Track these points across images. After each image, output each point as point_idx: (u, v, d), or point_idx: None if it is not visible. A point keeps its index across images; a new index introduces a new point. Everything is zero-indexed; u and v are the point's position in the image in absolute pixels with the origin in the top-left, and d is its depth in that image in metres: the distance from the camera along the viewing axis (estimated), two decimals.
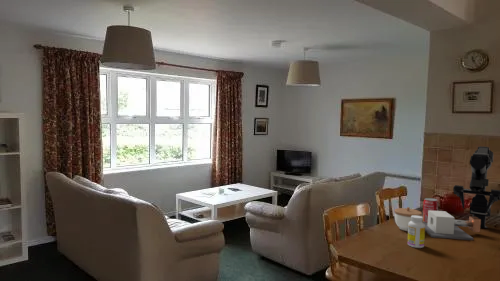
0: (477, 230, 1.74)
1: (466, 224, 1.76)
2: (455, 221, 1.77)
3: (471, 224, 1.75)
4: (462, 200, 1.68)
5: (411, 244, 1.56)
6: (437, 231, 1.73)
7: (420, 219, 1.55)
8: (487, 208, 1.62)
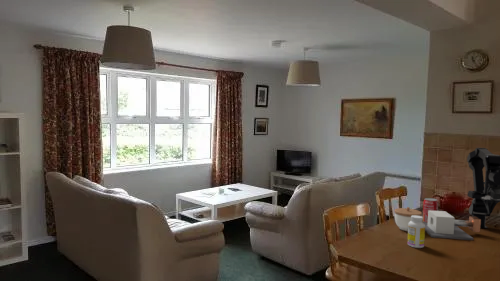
0: (477, 230, 1.74)
1: (466, 224, 1.76)
2: (455, 221, 1.77)
3: (471, 224, 1.75)
4: (489, 206, 1.74)
5: (411, 244, 1.56)
6: (437, 231, 1.73)
7: (420, 219, 1.55)
8: (491, 211, 1.74)
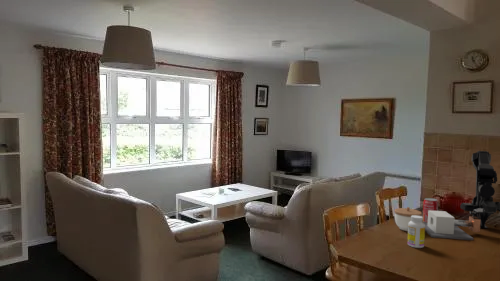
0: (477, 230, 1.74)
1: (466, 224, 1.76)
2: (455, 221, 1.77)
3: (471, 224, 1.75)
4: (482, 219, 1.75)
5: (411, 244, 1.56)
6: (437, 231, 1.73)
7: (420, 219, 1.55)
8: (483, 223, 1.75)
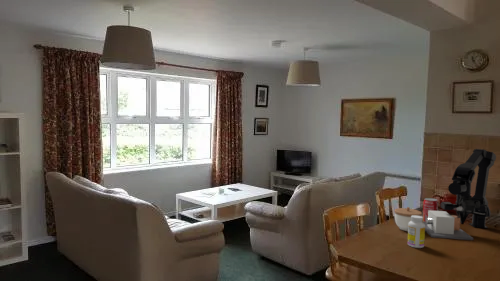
0: (457, 229, 1.75)
1: None
2: None
3: None
4: (461, 218, 1.76)
5: (411, 244, 1.56)
6: (437, 231, 1.73)
7: (420, 219, 1.55)
8: (463, 222, 1.76)
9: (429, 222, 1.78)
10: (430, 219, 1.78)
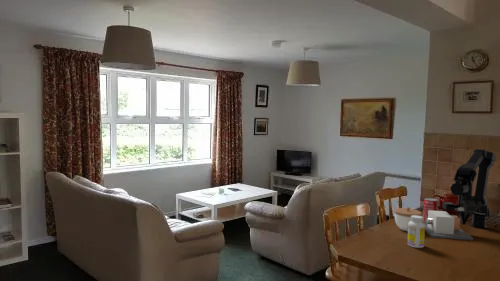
0: (457, 229, 1.75)
1: None
2: None
3: None
4: (463, 218, 1.76)
5: (411, 244, 1.56)
6: (437, 231, 1.73)
7: (420, 219, 1.55)
8: (465, 222, 1.76)
9: (429, 222, 1.78)
10: (430, 219, 1.78)
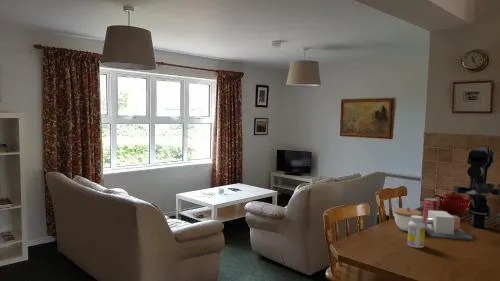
0: (457, 229, 1.75)
1: None
2: None
3: None
4: (474, 201, 1.75)
5: (411, 244, 1.56)
6: (437, 231, 1.73)
7: (420, 219, 1.55)
8: (476, 205, 1.75)
9: (429, 222, 1.78)
10: (430, 219, 1.78)
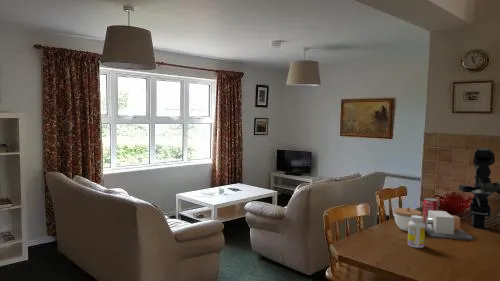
0: (457, 229, 1.75)
1: None
2: None
3: None
4: (480, 200, 1.77)
5: (411, 244, 1.56)
6: (437, 231, 1.73)
7: (420, 219, 1.55)
8: (482, 204, 1.77)
9: (429, 222, 1.78)
10: (430, 219, 1.78)
